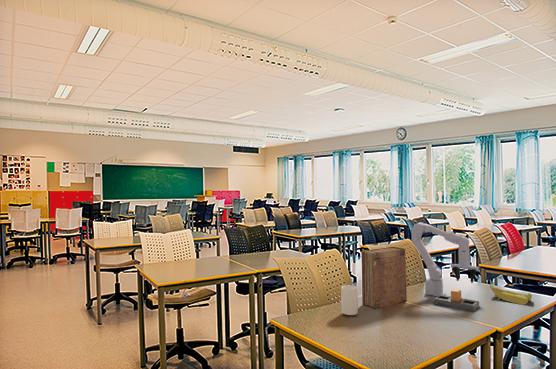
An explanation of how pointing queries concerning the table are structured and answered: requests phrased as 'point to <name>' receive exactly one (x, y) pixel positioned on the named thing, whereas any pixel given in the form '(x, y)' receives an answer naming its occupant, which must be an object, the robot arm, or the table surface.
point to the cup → (349, 300)
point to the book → (383, 277)
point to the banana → (511, 296)
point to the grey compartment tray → (457, 303)
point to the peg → (456, 295)
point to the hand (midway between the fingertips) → (464, 281)
